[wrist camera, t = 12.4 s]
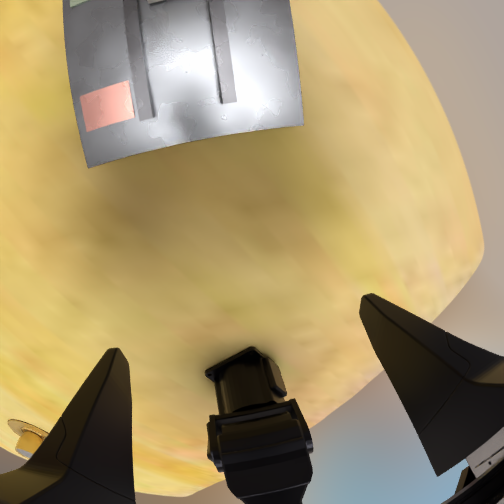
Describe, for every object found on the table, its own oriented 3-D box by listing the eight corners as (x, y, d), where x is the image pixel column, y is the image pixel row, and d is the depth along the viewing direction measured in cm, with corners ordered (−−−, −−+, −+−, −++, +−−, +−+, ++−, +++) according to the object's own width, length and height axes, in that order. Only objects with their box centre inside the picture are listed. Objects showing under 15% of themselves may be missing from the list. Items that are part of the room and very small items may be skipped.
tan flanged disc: (31, 443, 37) (28, 463, 33) (-3, 415, 31) (-8, 437, 27) (72, 449, 39) (69, 471, 34) (38, 421, 33) (33, 447, 28)
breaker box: (294, 122, 19) (310, 127, 16) (97, 161, 17) (82, 172, 15) (270, -48, 12) (282, -65, 9) (72, -11, 10) (57, -23, 8)
